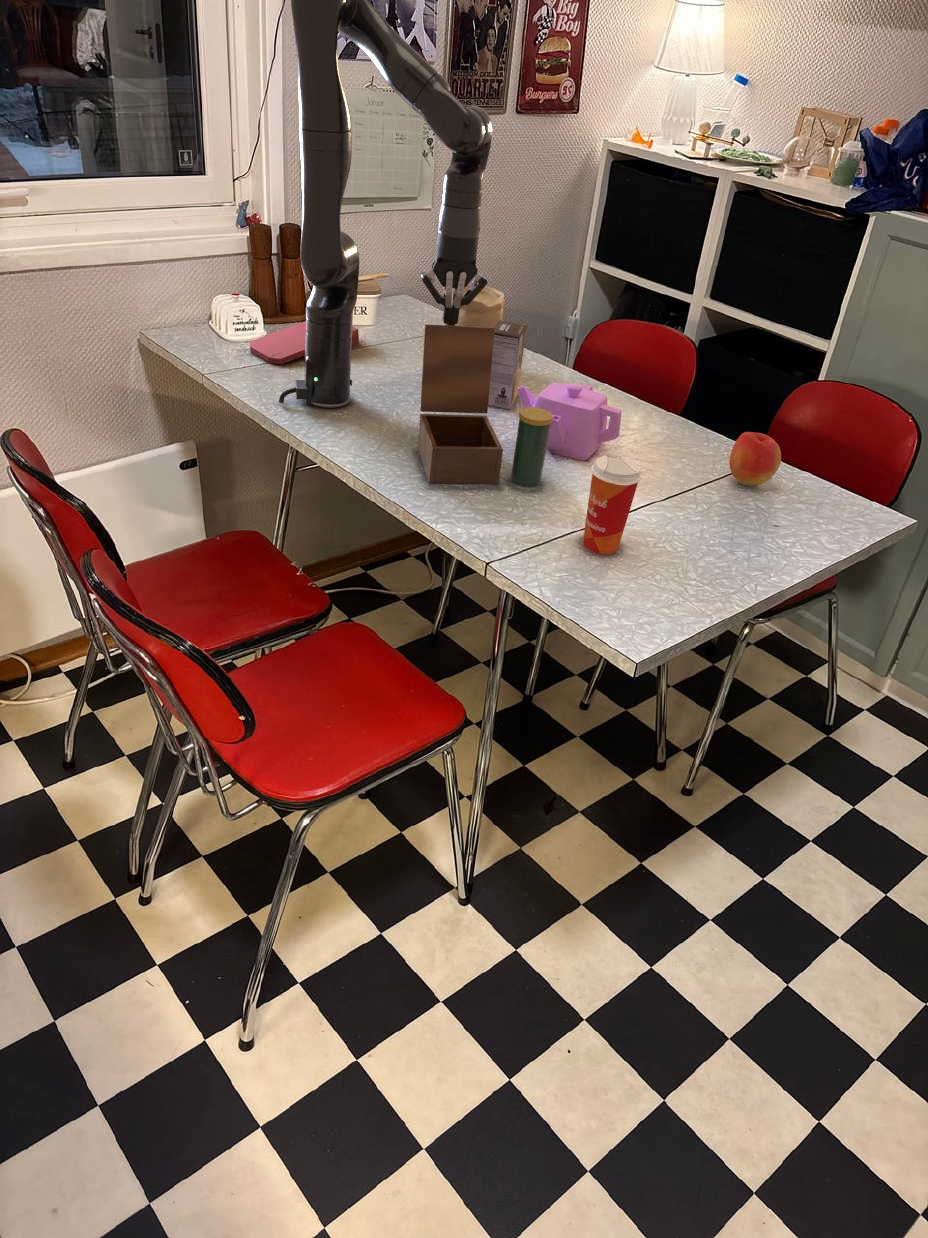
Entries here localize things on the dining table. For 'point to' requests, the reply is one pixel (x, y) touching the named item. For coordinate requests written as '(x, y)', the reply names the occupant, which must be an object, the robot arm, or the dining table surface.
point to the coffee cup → (609, 502)
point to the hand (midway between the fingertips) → (449, 325)
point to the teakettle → (575, 418)
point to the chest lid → (456, 368)
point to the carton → (286, 344)
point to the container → (482, 308)
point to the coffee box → (506, 363)
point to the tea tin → (530, 446)
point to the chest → (459, 449)
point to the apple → (754, 458)
